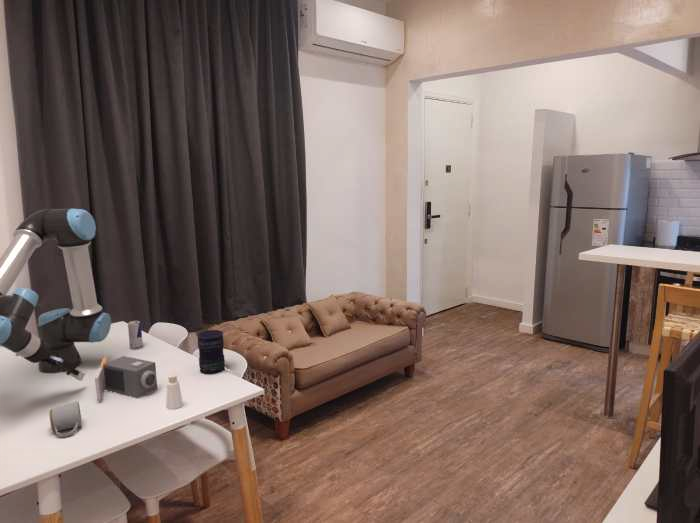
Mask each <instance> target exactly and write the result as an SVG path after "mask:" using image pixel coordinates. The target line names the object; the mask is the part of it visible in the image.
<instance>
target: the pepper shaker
mask: <svg viewBox="0 0 700 523" xmlns="http://www.w3.org/2000/svg"><path fill="white" fill-rule="evenodd" d="M167 377H168V382H167V384H166V403H165V404H166V405H165V406H166V408H167V409H168V410H176V408H177V409H180V408H182V406H183V405H184V403H183V397H182V391H181V388H180V382H179V381H178V376H177V373H176V374H175V373H172V374H168V376H167Z"/></svg>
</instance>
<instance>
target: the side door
mask: <svg viewBox="0 0 700 523" xmlns="http://www.w3.org/2000/svg"><path fill="white" fill-rule="evenodd" d="M107 362H108V358H107V357H104V358H103V359H102V361H101V363H100V366H98V370H97V372H96V375H95V377H94V383H95V390H96V400H97V401H101V400H102V396H103V395H104V394H103V393H104V390H105V380H104V370H103V364H105V363H107Z"/></svg>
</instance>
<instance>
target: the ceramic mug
mask: <svg viewBox="0 0 700 523" xmlns="http://www.w3.org/2000/svg"><path fill="white" fill-rule="evenodd" d="M49 422H50V427H51V430H52V431H53V432H55V434H56V435H57V437H59V438H69V437H71V436H73V435H74V434H75V433H76V432H77V430H78V427H79V428H80V427H82V424H83V422H82V414H81V409H80V403H79V401H78V400H77V401H73V402H70V403H66V404H62V405H58V406H55V407H53V408H51V409H50V410H49ZM68 429H72V430H71V431H69V432H67V433H61V432H60V431H63V430H64V431H65V430H68Z"/></svg>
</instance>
